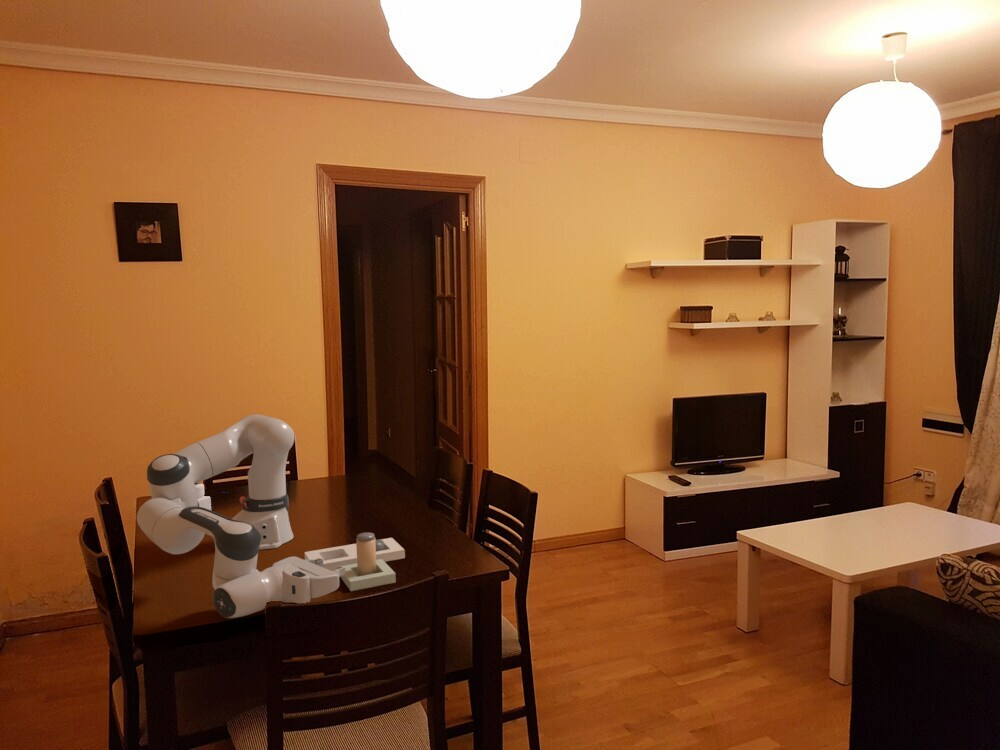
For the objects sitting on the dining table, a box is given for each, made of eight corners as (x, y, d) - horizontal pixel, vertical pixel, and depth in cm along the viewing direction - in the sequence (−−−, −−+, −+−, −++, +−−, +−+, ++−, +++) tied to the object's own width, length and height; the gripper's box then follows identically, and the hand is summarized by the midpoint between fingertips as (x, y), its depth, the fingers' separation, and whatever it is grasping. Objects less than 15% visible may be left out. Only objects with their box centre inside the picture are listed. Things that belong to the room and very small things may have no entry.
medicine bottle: (180, 520, 247) (178, 485, 245) (196, 514, 253) (194, 480, 252) (196, 522, 244) (194, 487, 243) (212, 516, 250) (210, 482, 249)
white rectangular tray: (313, 574, 195) (313, 560, 195) (304, 560, 206) (304, 547, 206) (405, 558, 207) (404, 544, 206) (392, 545, 217) (391, 532, 217)
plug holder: (350, 591, 184) (350, 581, 183) (339, 575, 194) (338, 566, 194) (395, 582, 189) (395, 573, 189) (382, 567, 200) (381, 558, 199)
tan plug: (360, 583, 188) (359, 539, 187) (355, 577, 193) (353, 534, 192) (379, 580, 191) (377, 536, 189) (373, 574, 195) (372, 531, 194)
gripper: (262, 583, 180) (309, 567, 190) (308, 606, 166) (357, 587, 176) (260, 559, 179) (308, 544, 189) (307, 579, 165) (356, 562, 176)
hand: (332, 565), depth 183 cm, fingers open, 8 cm apart
